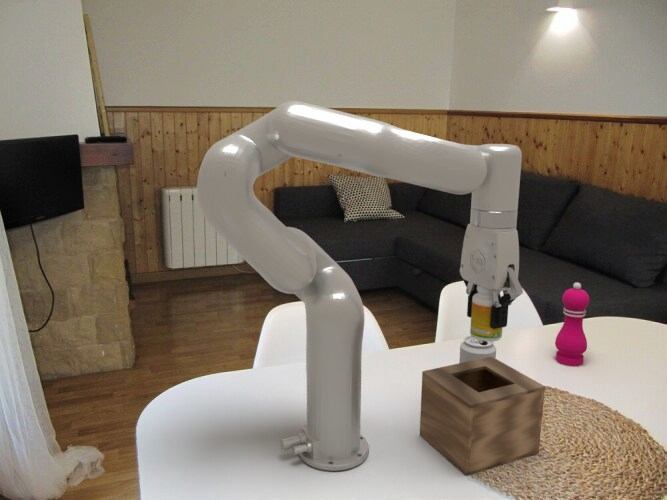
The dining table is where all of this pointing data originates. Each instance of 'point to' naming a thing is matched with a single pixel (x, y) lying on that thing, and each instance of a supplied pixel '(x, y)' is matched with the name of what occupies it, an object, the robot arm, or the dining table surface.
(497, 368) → the drop box
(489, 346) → the can
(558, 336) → the pepper mill
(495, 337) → the supplement bottle
